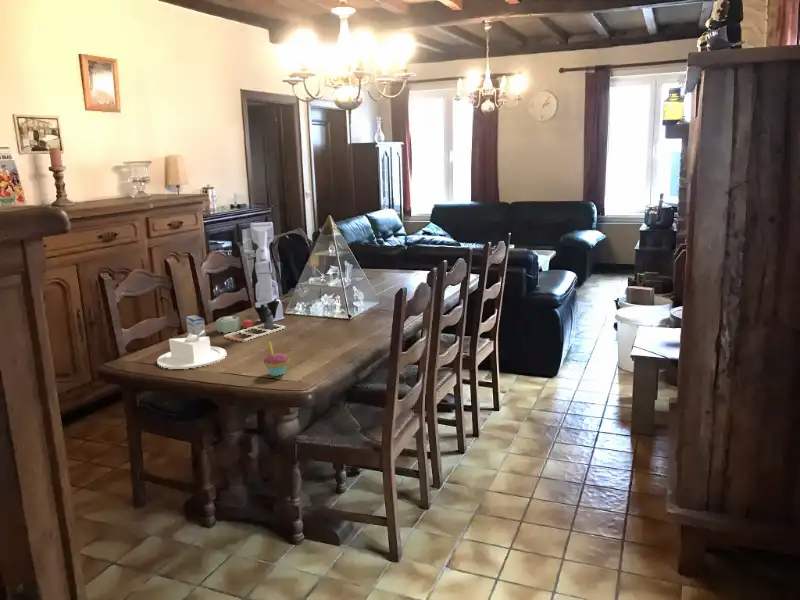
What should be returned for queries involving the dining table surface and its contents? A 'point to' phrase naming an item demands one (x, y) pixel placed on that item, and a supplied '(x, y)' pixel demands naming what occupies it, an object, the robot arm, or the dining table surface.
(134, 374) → the dining table surface
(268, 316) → the pawn
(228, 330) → the dome base
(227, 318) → the dome
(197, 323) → the medicine box
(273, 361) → the cupcake
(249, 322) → the red die
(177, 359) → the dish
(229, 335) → the game track
